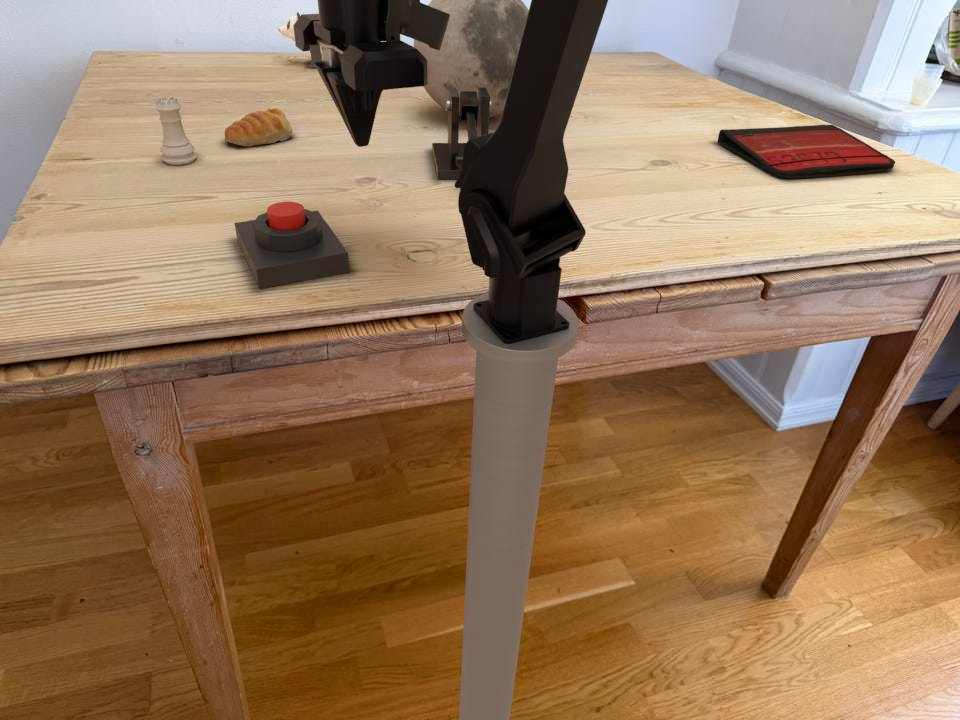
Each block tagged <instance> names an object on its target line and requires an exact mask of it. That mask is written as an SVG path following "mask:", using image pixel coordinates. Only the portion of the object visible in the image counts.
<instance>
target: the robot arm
mask: <svg viewBox="0 0 960 720" xmlns="http://www.w3.org/2000/svg"><path fill="white" fill-rule="evenodd" d="M608 3H609V0H531V1H530V4H529V8H528V10H529V12H528V16H527V20H526V23H525V27H524V31H523V35H522V39H521V43H520V47H519V51H518V55H517V59H516V63H515V66H514V70H513V74H512V78H511V82H510V86H509V90H508V94H507V98H506V102H505V106H504V109H503V113H501V118H500V121H499V123H498V126H497V128H496V129H495V130H494V131H493V132H488V134H486V135H483V136H479V137H476V138H473V139H470V140H468V139H467V141H466V143H467V144H466V146H465V149H464V152H463V164H462V171H461V173H460V176H459V178H458V179H456V181H455V182H454V188H456V189H460V190H459V192H458V200H457V201H458V202H457V205H458V206H457V207H458V213H459V214H460V216H461V221H462V225H463V229H464V232H465V238H466V242H467V246H468V250H469V255H470V259H471V262H472V264H473V265H474V266H477V267H478V268H480V269H481V270H482V271H484V276H486V277H488V278H489V281H488V292H489V300H485V301H481V302H476V303H474V306H473V309H474V311H475V312H476V313H477V314H478V315H479V316H480V317H481V319H482V320H483V321H484V322H485V323H486V324H487V325H488V326H489V327H490V329H491V330H492V331H493V332H494V333H495V334H496V335H497V336H498V337H499V339H500V340H501V341H502V342H503V343H505V344H512V343H516V342H520V341H524V340H528V339H532V338H536V337H540V336H544V335H548V334H551V333H555V332H559V331H563V330H567V329H568V328H569V322H568V321H567V320H566V319H565V318H564V317H563V316H562V315H561V314H560V313H559V312H558V311H557V302H558V299H559V294H560V287H561V286H560V285H561V278H562V267H561V266H560V263H561V257H564V256H565V255H567V254H569V253H571V252H572V253H573V252H575V251H577V250H578V249H579V248H580V246H581V243H582V242H583V239H584V238H585V236H586V233H587V231H586V229H585V227H584V225H583V223H582V222H581V220H580V218H579V216H578V214H577V212H576V211H575V209H574V207H573V206H572V204H571V202H570V201H569V199H568V197H567V195H566V193H565V191H566V186H567V180H568V175H569V163H568V159H567V154H566V149H565V143H564V137H565V132H566V129H567V126H568V123H569V120H570V117H571V114H572V111H573V108H574V106H575V102H576V99H577V95H578V93H579V90H580V87H581V84H582V81H583V78H584V75H585V72H586V69H587V66H588V63H589V60H590V57H591V54H592V51H593V48H594V45H595V41H596V39H597V35H598V33H599V29H600V27H601V24H602V21H603V18H604V14H605V12H606V9H607V5H608ZM317 6H318V7H317V9H318V13H305V14H304V13H303V14H301V15H300V17H299V19H298V20H297V21H296V23H295V24H294V25H293V26H294V35H295V41H294V42H295V47H296V48H298V49H299V50H300V51H301V52H310V50H309V49H310V45H320V46H321V49H322V61H318V62H315V63H314V66H315V68H314V69H315V70H316V71H317V72H318V74H319V76H320V78H321V80H322V82H323V84H324V86H325V87H326V90H327V92H328V93H329V95H330V97H331V99H332V101H333V103H334V105H335V107H336V108H337V111H338V112H339V115H340V117H341V119H342V121H343V123H344V125H345V126H346V128H347V129H346V130H347V131H348V133H349V135H350V136H351V139H352V141H353V143H354V144H355V145H356V146H357V147H359V148H363V147H368V146H369V144H370V139H371V136H372V131H373V128H374V123H375V118H376V115H377V110H378V106H379V103H380V99H381V95H382V93H383V92H384V91H388V90H398V89H408V88H418V87H419V88H420V87H423V86H425V85H427V84H428V71H427V59H426V58H425V57H424V56H423V55H422V54H421V53H420V52H419V51H418V49H416V48H414V45H411V44H409V43H407V42H404V41H402V40H401V35H402V36H405V37H407V38H410V39H413V40H414V39H415V40H418V41H420V42H423V43H425V44H428V46H429V47H430V48H433V49H436V50H440V48H441V45H442V42H443V38H444V35H445V31H446V28H447V25H448V21H449V18H450V14H448V13H445V12H443V11H440V10H438V9H435V8H433V7H430V6H428V4H425V3H422V2H421V0H317Z"/></svg>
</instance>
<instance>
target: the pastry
mask: <svg viewBox="0 0 960 720" xmlns="http://www.w3.org/2000/svg"><path fill="white" fill-rule="evenodd" d="M292 134H293V128H292V126H291V124H290V121H289V120H288V118H287V116H286V113H285V112H283V110H281V109H279V108H277V107H275V108H267V109H266V110H257V111H253V112H249V113H247V114H245V115H244V116H243V117H242V118H241V119H239V120H235V121H233V123H232V124H230V125H228V126H227V127H225V130H224V141H225V142H228V143H230V144H233V145H237V146H243V147H244V148H245V147H252V146H261V145H265V144H267V145H269V144H273V143H277V142H279V141H280V142H282V141H287V140H288V139H290V138H291V136H292Z"/></svg>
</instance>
